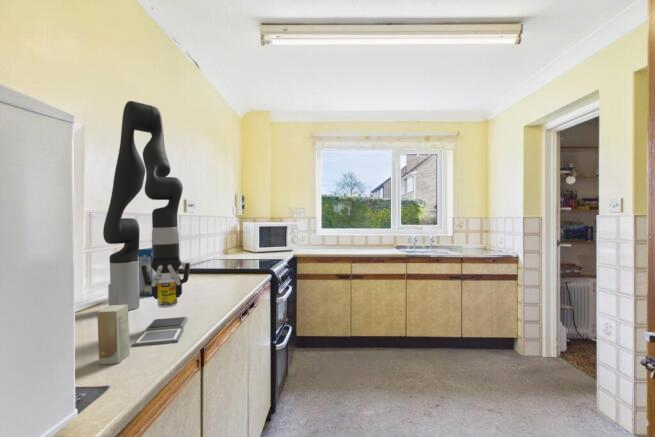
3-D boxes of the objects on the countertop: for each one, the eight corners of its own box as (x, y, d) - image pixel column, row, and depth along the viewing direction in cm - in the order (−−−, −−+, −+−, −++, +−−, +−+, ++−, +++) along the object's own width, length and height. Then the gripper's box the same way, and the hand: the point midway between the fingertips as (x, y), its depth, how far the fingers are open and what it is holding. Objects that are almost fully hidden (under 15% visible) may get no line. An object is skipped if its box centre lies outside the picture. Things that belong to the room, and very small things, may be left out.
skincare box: (111, 354, 90) (110, 304, 90) (130, 353, 90) (129, 303, 90) (97, 365, 83) (96, 311, 83) (117, 364, 84) (116, 310, 84)
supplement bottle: (159, 309, 109) (158, 274, 109) (156, 305, 113) (155, 272, 113) (179, 306, 112) (178, 272, 112) (175, 302, 116) (174, 270, 116)
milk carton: (153, 291, 167) (152, 247, 167) (166, 291, 166) (165, 247, 166) (139, 296, 157) (138, 249, 157) (152, 296, 156) (151, 249, 156)
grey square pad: (132, 346, 95) (132, 343, 95) (142, 334, 105) (142, 331, 105) (177, 342, 98) (177, 339, 98) (183, 330, 108) (183, 328, 107)
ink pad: (145, 332, 107) (145, 328, 107) (154, 322, 116) (153, 318, 116) (182, 329, 109) (182, 324, 109) (187, 320, 119) (187, 316, 119)
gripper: (192, 240, 118) (193, 293, 118) (143, 242, 115) (145, 297, 115) (188, 242, 110) (190, 298, 111) (136, 244, 107) (138, 302, 107)
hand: (167, 297), depth 113 cm, fingers closed on supplement bottle, 5 cm apart
